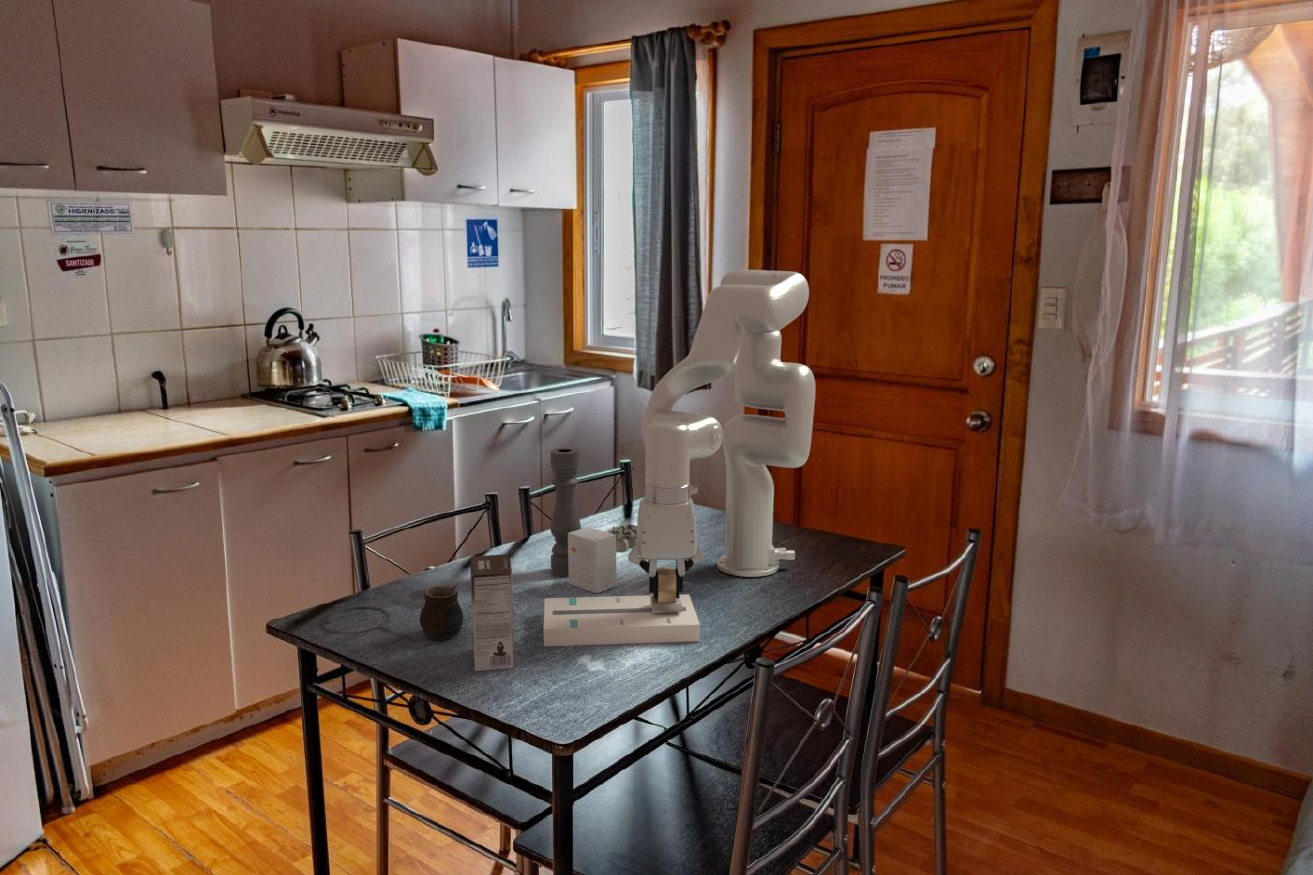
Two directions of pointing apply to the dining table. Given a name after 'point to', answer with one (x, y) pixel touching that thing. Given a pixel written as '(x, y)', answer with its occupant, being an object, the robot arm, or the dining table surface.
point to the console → (616, 621)
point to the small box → (592, 559)
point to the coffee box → (492, 612)
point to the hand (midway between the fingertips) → (665, 595)
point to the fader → (666, 592)
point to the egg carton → (624, 536)
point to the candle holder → (563, 506)
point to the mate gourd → (441, 613)
